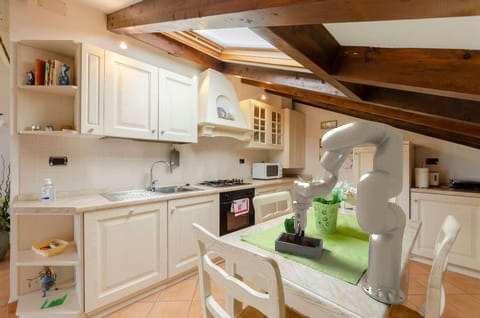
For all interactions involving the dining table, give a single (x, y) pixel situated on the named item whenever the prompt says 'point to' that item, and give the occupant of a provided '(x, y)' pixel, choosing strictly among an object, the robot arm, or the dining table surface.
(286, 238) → the bolt
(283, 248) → the tray
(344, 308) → the dining table surface
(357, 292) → the dining table surface
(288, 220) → the bell pepper
